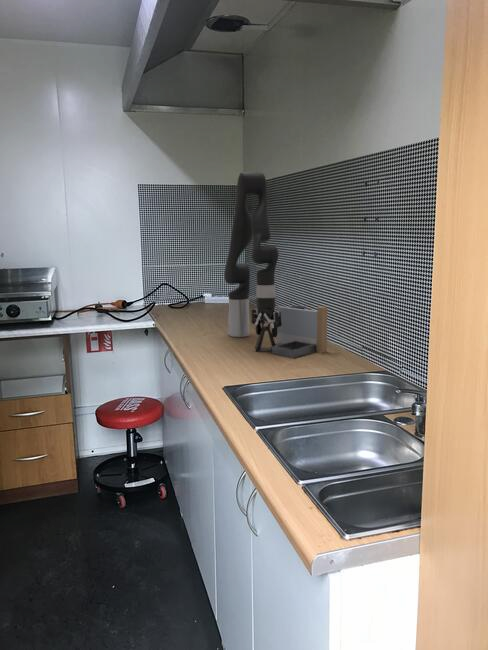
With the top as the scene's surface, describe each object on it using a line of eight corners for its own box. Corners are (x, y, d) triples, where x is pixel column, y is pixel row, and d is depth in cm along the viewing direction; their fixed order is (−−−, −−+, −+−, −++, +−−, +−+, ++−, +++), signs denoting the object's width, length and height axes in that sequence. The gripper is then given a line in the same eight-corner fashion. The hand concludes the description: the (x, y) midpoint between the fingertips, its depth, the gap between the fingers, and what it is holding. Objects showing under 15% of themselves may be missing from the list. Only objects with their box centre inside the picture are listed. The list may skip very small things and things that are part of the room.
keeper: (272, 353, 209) (272, 346, 208) (294, 347, 218) (294, 340, 218) (293, 358, 201) (293, 350, 201) (316, 351, 211) (316, 344, 210)
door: (275, 344, 226) (275, 302, 222) (280, 342, 228) (280, 301, 225) (321, 353, 209) (322, 307, 205) (326, 351, 211) (327, 306, 208)
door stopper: (276, 347, 219) (276, 319, 217) (277, 351, 213) (277, 322, 211) (254, 348, 219) (254, 319, 216) (255, 351, 213) (255, 322, 211)
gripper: (246, 295, 214) (247, 335, 217) (272, 298, 204) (273, 339, 207) (259, 294, 219) (260, 332, 222) (285, 296, 209) (285, 336, 212)
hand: (266, 335), depth 214 cm, fingers open, 8 cm apart
